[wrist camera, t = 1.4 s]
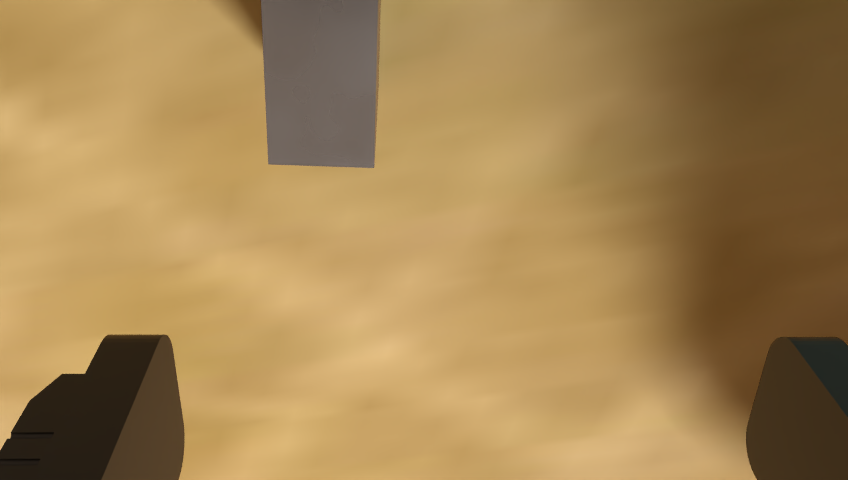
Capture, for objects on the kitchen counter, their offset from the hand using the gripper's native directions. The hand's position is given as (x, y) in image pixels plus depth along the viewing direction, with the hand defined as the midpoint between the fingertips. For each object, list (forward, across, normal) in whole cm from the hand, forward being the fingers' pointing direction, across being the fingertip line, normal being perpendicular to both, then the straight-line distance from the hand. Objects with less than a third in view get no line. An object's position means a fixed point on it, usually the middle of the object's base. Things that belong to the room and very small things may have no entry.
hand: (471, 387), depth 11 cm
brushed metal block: (+20, +3, -1) cm, 20 cm away
